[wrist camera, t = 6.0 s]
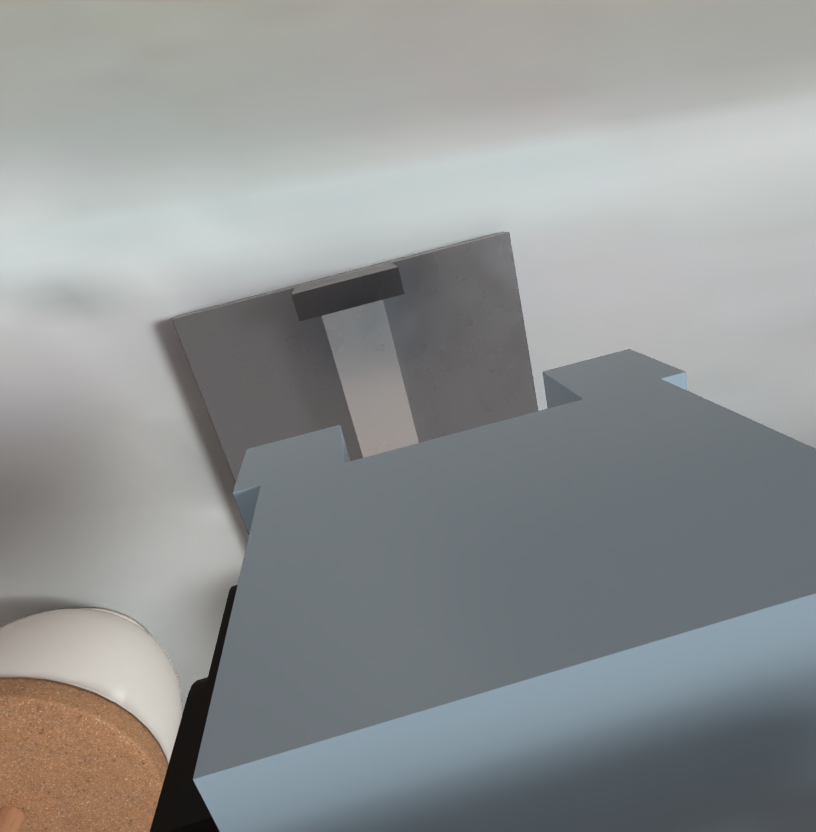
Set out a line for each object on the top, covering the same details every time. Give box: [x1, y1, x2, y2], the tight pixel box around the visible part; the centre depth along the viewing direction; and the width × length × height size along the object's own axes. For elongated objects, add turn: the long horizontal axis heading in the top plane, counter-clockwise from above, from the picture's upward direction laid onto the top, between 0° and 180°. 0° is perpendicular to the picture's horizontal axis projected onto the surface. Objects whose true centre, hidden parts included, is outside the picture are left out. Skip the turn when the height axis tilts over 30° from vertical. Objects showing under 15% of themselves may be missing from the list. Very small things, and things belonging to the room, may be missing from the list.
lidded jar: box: [0, 608, 182, 832], centre depth 23 cm, size 11×11×9 cm
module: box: [193, 349, 816, 832], centre depth 8 cm, size 7×6×6 cm
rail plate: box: [172, 232, 538, 482], centre depth 23 cm, size 14×18×7 cm
